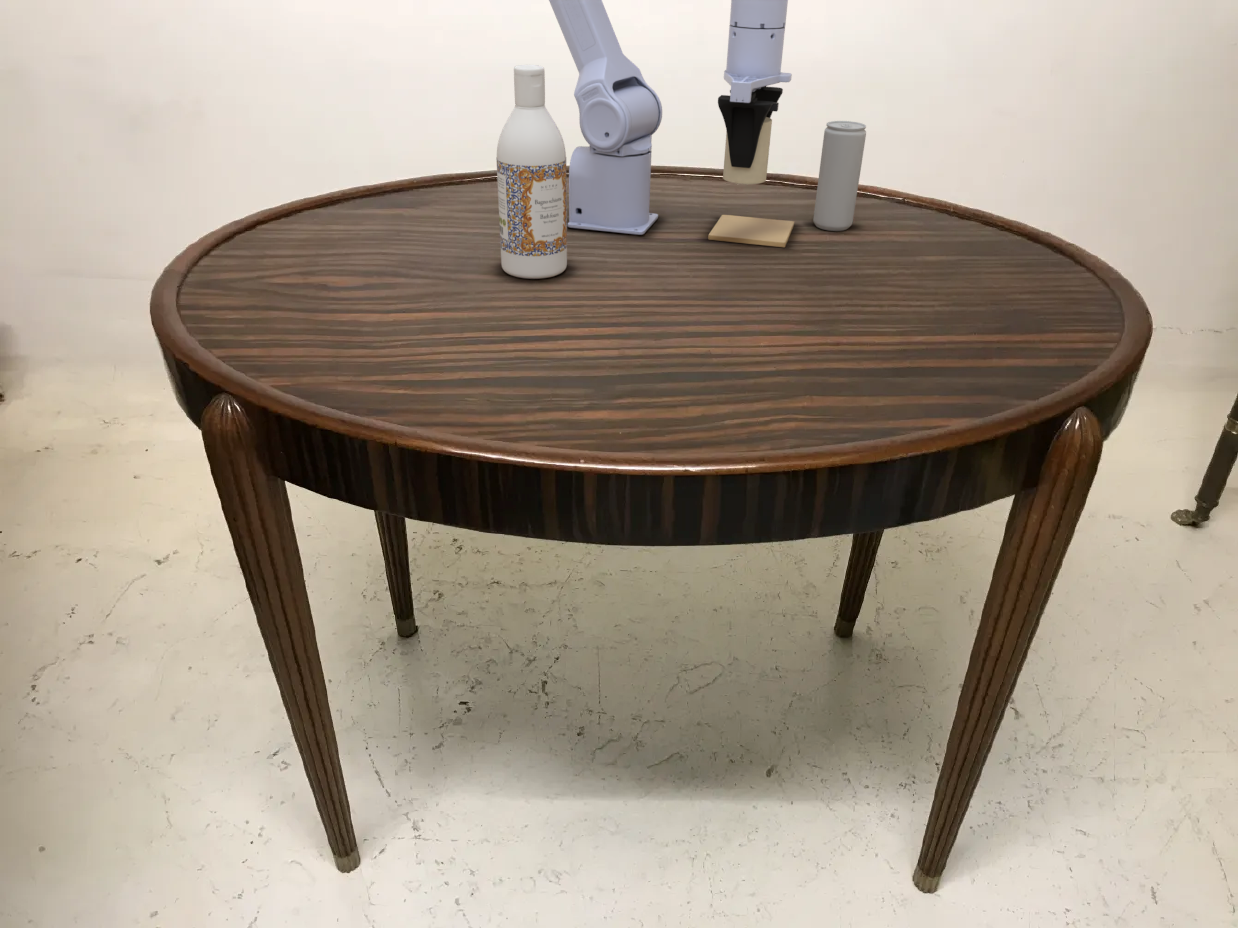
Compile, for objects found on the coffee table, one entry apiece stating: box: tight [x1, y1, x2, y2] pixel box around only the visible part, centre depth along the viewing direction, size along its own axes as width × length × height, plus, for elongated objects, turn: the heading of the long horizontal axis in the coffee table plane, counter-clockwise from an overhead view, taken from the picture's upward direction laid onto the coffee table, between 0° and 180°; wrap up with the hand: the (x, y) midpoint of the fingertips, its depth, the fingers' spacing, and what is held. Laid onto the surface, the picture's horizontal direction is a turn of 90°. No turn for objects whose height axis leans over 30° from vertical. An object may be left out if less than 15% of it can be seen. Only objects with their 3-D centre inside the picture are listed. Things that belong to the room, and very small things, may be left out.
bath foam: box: [495, 64, 568, 280], centre depth 94 cm, size 7×7×20 cm
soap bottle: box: [722, 100, 780, 185], centre depth 102 cm, size 5×5×8 cm
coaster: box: [707, 214, 795, 248], centre depth 112 cm, size 9×9×1 cm
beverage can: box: [812, 120, 867, 232], centre depth 112 cm, size 5×5×12 cm
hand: (745, 161), depth 103 cm, fingers closed on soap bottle, 5 cm apart
